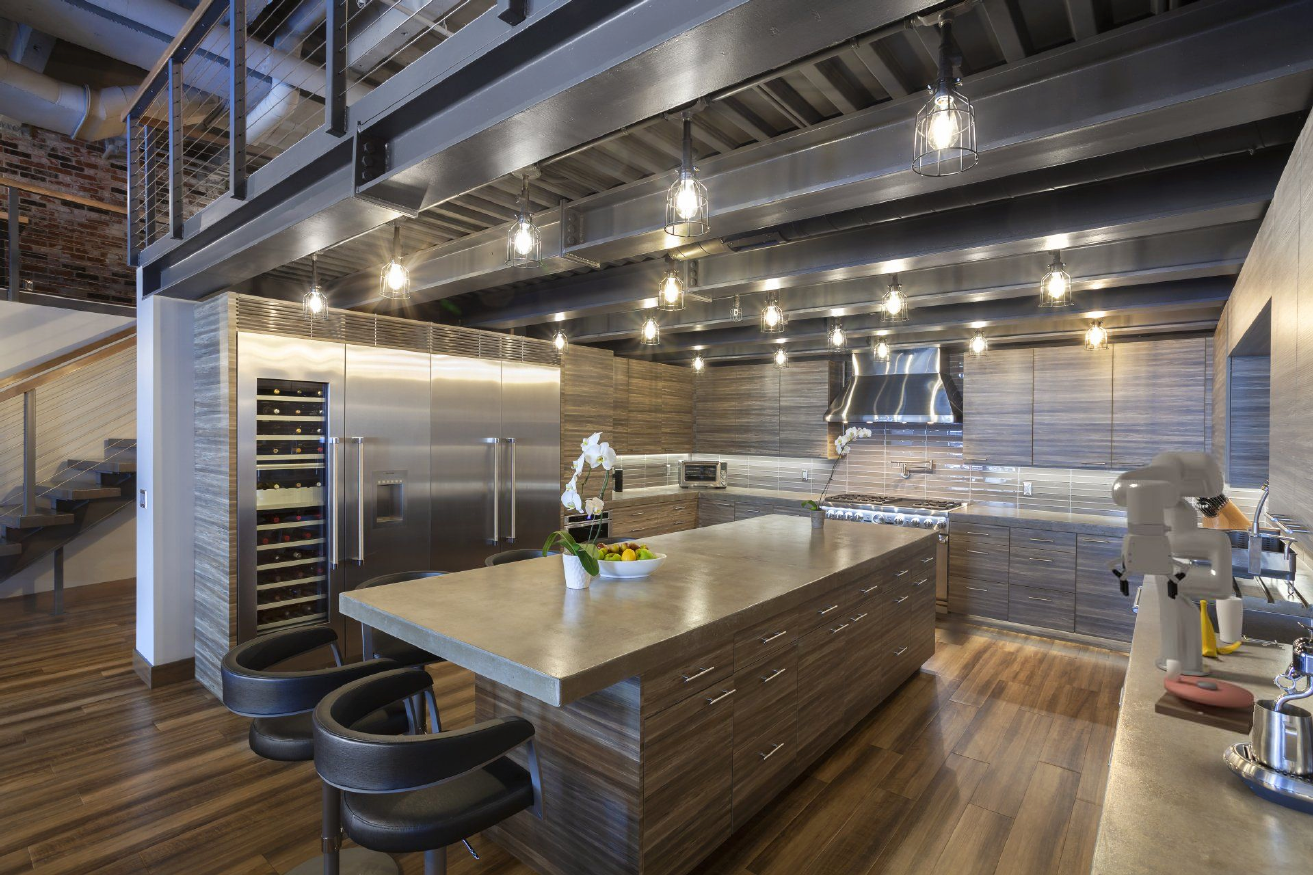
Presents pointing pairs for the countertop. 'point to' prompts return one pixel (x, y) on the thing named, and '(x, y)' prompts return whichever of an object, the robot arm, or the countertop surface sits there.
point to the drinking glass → (1230, 619)
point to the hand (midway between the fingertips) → (1148, 596)
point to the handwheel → (1205, 689)
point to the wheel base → (1207, 713)
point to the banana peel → (1211, 636)
